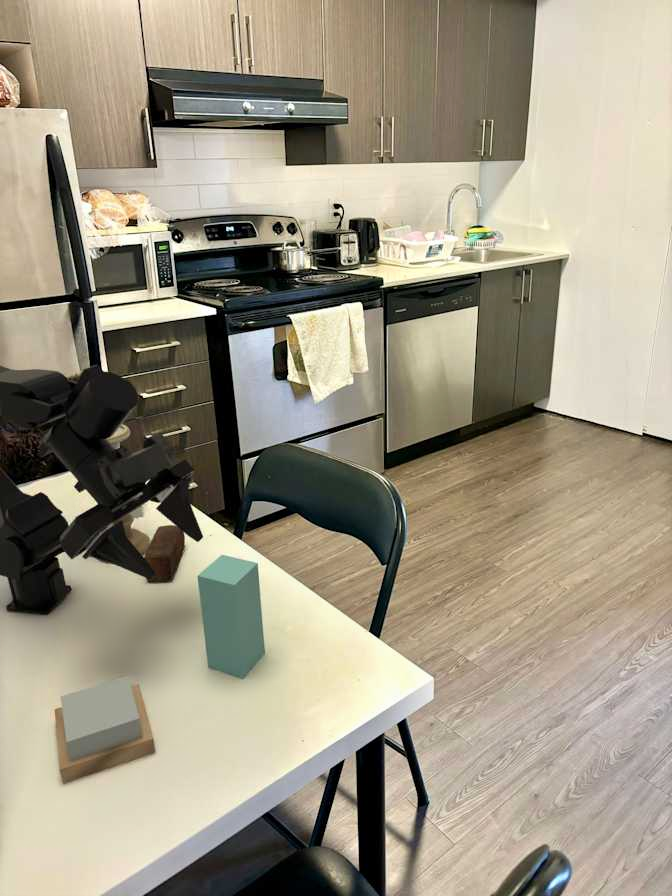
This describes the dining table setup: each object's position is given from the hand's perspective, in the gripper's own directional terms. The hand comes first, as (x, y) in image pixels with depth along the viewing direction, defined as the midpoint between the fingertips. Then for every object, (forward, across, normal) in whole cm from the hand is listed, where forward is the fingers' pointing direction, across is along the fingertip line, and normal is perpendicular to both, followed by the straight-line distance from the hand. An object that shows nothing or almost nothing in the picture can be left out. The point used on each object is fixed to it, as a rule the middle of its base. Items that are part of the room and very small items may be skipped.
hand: (178, 557), depth 81 cm
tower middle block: (+9, -16, +7) cm, 20 cm away
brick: (-1, +15, +20) cm, 25 cm away
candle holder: (-8, +16, +27) cm, 32 cm away
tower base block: (+10, -16, +9) cm, 21 cm away
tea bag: (-14, +27, +32) cm, 45 cm away
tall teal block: (+14, 0, +4) cm, 15 cm away
